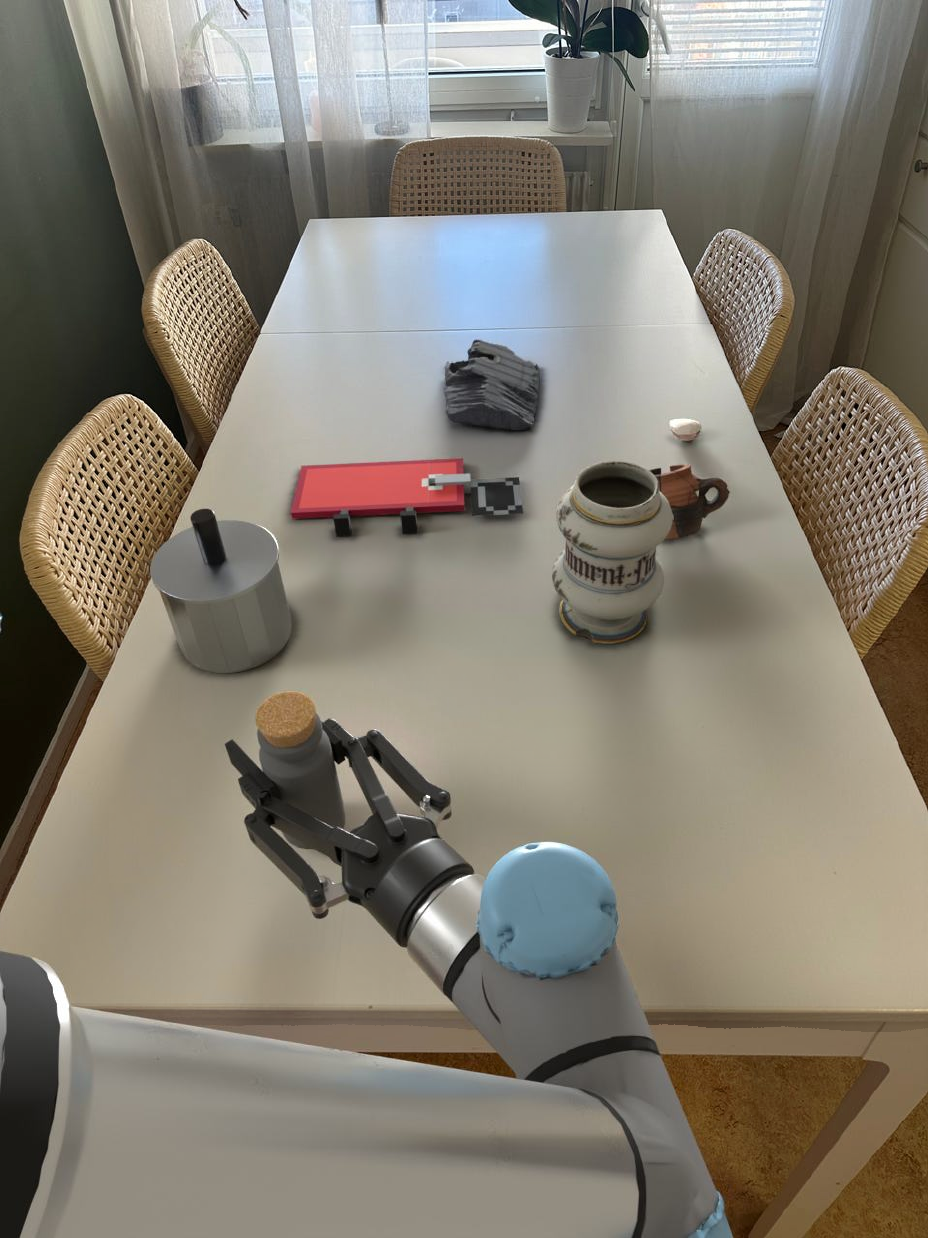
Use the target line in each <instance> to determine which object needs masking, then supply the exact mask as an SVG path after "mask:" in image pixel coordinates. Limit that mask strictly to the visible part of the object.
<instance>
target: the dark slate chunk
mask: <svg viewBox="0 0 928 1238" xmlns="http://www.w3.org/2000/svg"><path fill="white" fill-rule="evenodd" d="M444 382H445V388H444V397H445V401H446V409H445V414H446V416H447V418H448V420H449V421H450V422H451V423H452V424H457V425H458V424H459V425H460V424H461V425H464V424H465V425H469V426H479V427H481V426H482V427H483V426H484V427H485V426H486V427H489V428H494V429H504V430H509V431H510V430H511V431H523V430H530V429H532V428H533V427H534V424H535V417H536V411H537V409H538V407H537V406H538V400H539V398H538V395H539V387H540V384H539V382H540V368H539V365H538V364H537V363H533V362H532V361H531V360H525V359H524V358H522V357H520V356H519V355H517V354H516V353H515V351H514V350H512V349H511V348H509V347H508V346H506V345H503V344H499V343H493V342H488V341H485V340H482V339H474V340H473V342H472V343H471V346H470V347H469V348H468V349H467V360H464V359H463V360H460V361H459V360H455V361H454V360H453V361H452V360H451V361H447V362H445V366H444Z"/></svg>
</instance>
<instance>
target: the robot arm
mask: <svg viewBox="0 0 928 1238" xmlns="http://www.w3.org/2000/svg"><path fill="white" fill-rule="evenodd" d="M2 619H3V615H2V613H1V612H0V624H1V623H2ZM1 631H2V627H1V625H0V632H1ZM321 723H322V729H323V730H324V731H325V733H326V734H327V736H328V738H329V741H330V744H331V748H332V752H333V757H334V761H335V764H337V765H338V766H339V765H340V764H342V763H343V762H345V761H346V759H347V762H348V767H349V768H351V771H352V772H353V775H354V777H355V779H356V781H357V783H358V785H359V787H360V790H361V792H362V793H363V796H364V798H365V800H366V802H367V804H368V806H369V808H370V811H371V812H372V815H370V816H369V817H368V818H367V819H366V821H364V823H363V824H362V825H360V826H357V827H356V828H353V829H352V830H350V831H348V830H345V829H344V828H343V829H341V828H339V827H335V828H333V827H331V826H329V825H327V824H325V823H324V822H322V821H320V820H318V819H316V818H314V817H312V816H310V815H308V814H306V813H304V812H303V811H301V810H299V809H297V808H295V807H293V806H291V805H289V804H287V803H285V802H283V801H281V800H280V799H279V795H278V792H277V789H276V785H275V784H274V783H273V782H272V781H271V780H270V779H269V778H268V777H267V776H266V774H265V773H264V772H263V770H262V768H260V767H259V766H258V765H257V764H256V763H255V761H253V759H252V758H251V757H250V756H249V755H248V754H247V753H246V752H245V751H244V750H243V749H242V748H241V746H240V745H238V743H237V742H236V741H235V740H234V739H233V738H231V739H230V740H228V741H227V742H225V743H224V746H225V749H226V750H225V751H226V753H227V756H228V758H229V761H230V764H231V765H232V766H233V768H235V769H236V771H237V772H238V773H239V774H240V775H241V776H240V777H239V778H237V781H238V785H239V788H240V791H241V794H242V795H243V797H244V798H245V799H246V800H247V801H248V802H249V804H251V805H252V807H253V808H254V810H253V812H250V813H249V814H247V815H246V816H245V817H244V819H243V823H244V826H245V829H246V832H247V834H248V837H249V840H250V842H251V843H252V844H253V845H254V846H255V847H256V848H257V849H258V850H259V851H260V852H261V853H262V854H263V855H264V856H265V857H266V858H267V859H268V860H269V861H270V862H271V863H272V864H273V865H274V866H275V867H276V868H277V869H278V870H279V871H280V872H281V873H282V874H283V876H285V877H286V878H287V879H288V880H289V882H291V883H292V884H293V885H294V886H295V887H296V888H297V889H298V890H299V891H300V892H301V893H302V894H303V895H304V896H305V898H306V900H307V903H308V906H309V908H310V910H311V914H312V916H313V917H314V918H315V919H318V920H322V919H325V918H326V917H327V916H328V915H329V911H330V908H332V907H335V906H337V905H339V904H341V903H344V902H346V901H349V902H350V903H352V904H356V905H359V906H360V907H363V908H364V909H365V910H366V911H367V912H368V913H369V915H371V916H372V917H373V919H374V920H375V921H376V922H377V923H378V924H379V925H380V926H381V927H382V929H383V930H384V931H385V932H386V933H387V934H388V935H389V936H390V937H391V939H392V940H394V942H395V943H396V944H397V945H398V946H399V947H401V948H403V949H404V948H406V950H407V956H408V957H409V958H410V959H411V960H412V961H413V962H414V963H415V964H416V965H417V967H418V968H419V969H420V970H421V971H422V972H423V974H425V975H426V977H427V978H428V980H430V981H431V982H432V984H433V985H434V986H435V987H436V988H437V989H438V990H439V991H440V992H441V994H442V995H444V996H445V997H447V999H448V1001H450V1002H451V1003H452V1004H453V1005H454V1006H455V1008H456V1009H457V1010H458V1011H459V1012H460V1013H461V1014H462V1015H463V1017H464V1018H465V1019H466V1020H467V1021H468V1022H469V1023H470V1024H471V1025H472V1026H473V1027H474V1029H475V1030H476V1031H477V1032H478V1033H479V1035H481V1037H482V1038H483V1039H484V1040H485V1041H486V1042H487V1043H488V1044H489V1046H490V1047H491V1048H492V1049H493V1050H494V1051H495V1053H497V1055H498V1056H499V1057H500V1058H501V1059H502V1060H503V1062H505V1063H506V1064H507V1065H508V1067H509V1068H510V1069H511V1070H512V1071H513V1072H514V1074H515V1078H514V1077H508V1076H502V1075H497V1074H496V1075H495V1074H489V1073H485V1072H484V1073H483V1072H478V1071H472V1070H466V1069H460V1068H454V1067H447V1066H441V1065H436V1064H435V1065H434V1064H429V1063H422V1062H416V1061H410V1060H403V1059H399V1058H391V1057H385V1056H380V1055H373V1054H368V1053H361V1052H354V1051H350V1050H349V1051H348V1050H343V1049H337V1048H336V1049H335V1048H331V1047H324V1046H318V1045H311V1044H307V1043H301V1042H300V1043H299V1042H294V1041H289V1040H288V1041H287V1040H282V1039H275V1038H270V1037H269V1038H268V1037H263V1036H257V1035H250V1034H245V1033H238V1032H232V1031H225V1030H221V1029H220V1030H219V1029H213V1028H209V1027H201V1026H195V1025H190V1024H183V1023H178V1022H170V1021H164V1020H159V1019H152V1018H148V1017H147V1018H146V1017H141V1016H135V1015H134V1016H133V1015H128V1014H123V1013H122V1014H121V1013H116V1012H110V1011H103V1010H97V1009H91V1008H87V1007H86V1008H85V1007H79V1006H74V1005H72V1003H71V1000H70V999H69V996H68V994H67V992H66V989H65V987H64V985H63V983H62V982H61V980H60V978H59V976H58V974H57V973H56V971H55V970H54V969H53V968H52V967H51V966H50V965H49V964H48V963H47V962H45V961H44V960H41V959H39V958H37V957H34V956H33V957H32V956H28V955H24V954H18V953H13V952H7V951H2V950H0V1238H734V1237H733V1234H732V1230H731V1227H730V1224H729V1221H728V1219H727V1215H726V1213H725V1201H724V1199H723V1196H722V1195H721V1193H720V1192H719V1191H718V1190H717V1189H716V1186H715V1184H714V1182H713V1179H712V1177H711V1176H712V1175H711V1174H710V1172H709V1169H708V1167H707V1164H706V1161H705V1160H704V1157H703V1155H702V1152H701V1150H700V1148H699V1146H698V1143H697V1140H696V1138H695V1135H694V1133H693V1131H692V1128H691V1126H690V1123H689V1121H688V1118H687V1116H686V1114H685V1112H684V1109H683V1106H682V1104H681V1102H680V1099H679V1097H678V1095H677V1092H676V1090H675V1087H674V1084H673V1082H672V1080H671V1078H670V1075H669V1073H668V1070H667V1068H666V1066H665V1063H664V1061H663V1058H662V1055H661V1053H660V1050H659V1047H658V1044H657V1042H656V1040H655V1037H654V1035H653V1032H652V1029H651V1027H650V1024H649V1021H648V1018H647V1016H646V1015H645V1012H644V1009H643V1006H642V1004H641V1001H640V999H639V996H638V994H637V991H636V989H635V987H634V984H633V982H632V979H631V977H630V973H629V971H628V969H627V966H626V964H625V961H624V958H623V956H622V953H621V951H620V949H619V946H618V943H617V940H616V936H617V933H618V931H619V928H620V925H619V913H618V909H617V906H618V905H617V895H616V891H615V888H614V885H613V883H612V882H613V881H612V880H611V878H610V877H609V875H608V874H607V871H605V869H604V868H603V867H602V865H600V864H599V863H598V861H597V860H595V859H594V858H593V857H591V856H590V855H589V854H587V852H585V851H583V850H581V849H579V848H577V847H574V846H571V845H569V844H566V843H562V842H555V841H539V842H532V843H527V844H524V845H521V846H518V847H516V848H514V849H512V850H511V851H509V852H507V853H505V854H504V855H503V856H502V857H501V858H499V859H498V860H497V861H496V862H495V864H494V865H493V866H492V868H491V869H490V871H489V872H488V874H487V875H486V878H485V876H483V875H482V874H478V873H476V874H475V870H474V867H473V866H472V865H471V864H470V863H469V862H468V861H467V860H466V859H465V858H464V857H462V855H461V854H460V853H458V851H457V850H455V849H454V848H453V847H452V846H451V845H450V844H449V843H448V842H447V841H446V840H445V839H443V838H442V837H441V836H440V835H439V833H438V829H437V828H438V826H440V824H441V822H442V821H446V820H449V819H450V818H451V816H452V799H451V793H450V792H449V791H448V790H447V789H444V788H442V787H440V786H438V785H436V784H434V783H432V782H430V781H429V780H428V779H427V778H426V777H425V776H424V775H423V774H422V773H421V771H419V770H418V769H417V768H416V767H415V766H414V765H413V764H412V763H411V762H410V761H409V760H408V759H407V758H406V757H405V756H404V755H403V753H402V752H401V751H399V749H397V748H396V746H395V745H394V744H393V743H392V742H391V741H390V740H389V739H388V738H387V737H386V736H385V735H384V734H383V733H382V732H381V731H380V730H379V729H377V728H373V729H369V730H368V731H367V733H366V735H363V736H359V737H358V736H353V735H352V734H350V732H348V731H347V729H345V728H344V727H343V726H342V725H341V724H340V723H339V722H338V721H337V720H336V719H334V718H330V717H328V718H327V719H326V720H324V721H322V720H321ZM370 757H371V758H372V759H373V760H374V761H375V762H376V763H377V765H378V766H379V767H380V768H381V769H382V770H383V771H384V772H385V773H386V774H387V775H388V776H389V778H390V779H391V780H392V781H393V782H394V783H395V784H396V785H397V786H398V787H399V789H401V790H402V791H403V792H404V793H405V795H406V796H407V797H408V798H409V799H410V800H411V801H412V802H413V803H414V804H415V805H416V806H417V807H418V808H419V811H420V814H421V815H422V816H417V815H412V814H405V813H399V812H397V811H396V809H395V807H394V805H393V803H392V801H391V799H390V797H389V795H388V794H387V793H386V791H385V790H384V787H383V786H382V784H381V781H380V780H379V777H378V775H377V773H376V771H375V769H374V767H373V765H372V764H371V762H370V761H371V760H370V759H369V758H370ZM273 828H274V829H273ZM275 829H276V830H277V831H280V832H281V833H282V832H284V833H285V834H287V835H289V836H291V837H293V838H295V839H297V840H298V841H300V842H302V843H304V844H306V845H308V846H309V847H311V848H313V849H312V850H315V851H317V852H319V853H321V854H323V855H324V856H326V857H328V858H329V859H330V860H331V861H332V863H334V864H335V865H338V866H339V867H341V882H339V883H337V882H333V881H332V880H331V879H330V878H329V877H327V876H325V875H320V876H318V875H317V872H316V871H315V869H314V868H313V867H312V865H311V864H309V863H308V861H306V860H305V859H304V858H303V857H302V856H301V855H300V854H299V853H298V852H297V850H295V849H294V848H293V847H292V846H291V845H290V843H289V842H288V841H287V840H286V839H285V838H283V837H282V836H281V835H280V834H279V833H278V832H277V831H276V830H275Z"/></svg>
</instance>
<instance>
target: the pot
mask: <svg viewBox="0 0 928 1238" xmlns="http://www.w3.org/2000/svg"><path fill="white" fill-rule="evenodd" d="M159 594H160V597H161V599H162V603H163V605H164V608H165V611H166V613H167V617H168V619H169V622H170V625H171V627H172V630H173V633H174V635H175V638H176V642H177V644H178V646H179V649H180V650H181V652H182V654H183V656H184V657H185V659H186V660H187V661H188V662H189V663H190V664H191V665H193V666H195V667H197V668H198V669H200V670H204V671H206V672H210V673H215V674H216V673H217V674H234V673H240V672H241V673H242V672H244V671H245V672H246V671H248V670H252V669H254V668H257V667H259V666H261V665H263V664H266V663H267V662H268V661H270V660H271V659H273V658H275V657H276V656H277V655H278V654H279V653H280V652H281V651H282V650H283V649H284V648H285V646H286V645H287V644H288V642H289V640H290V638H291V634H292V630H293V629H292V628H293V622H292V619H291V612H290V608H289V603H288V600H287V595H286V591H285V587H284V582H283V578H282V573H281V569H280V564H279V562H278V563H277V565H276V567H275V569H274V571H273V572H272V573H271V575H270V576H269V577H268V578H267V579H266V580H265V581H264V582H263V583H261V584H260V585H259V586H257V587H256V588H254V589H253V590H251V591H249V592H247V593H245V594H243V595H241V596H238V597H236V598H233V599H230V600H226V601H222V602H216V603H208V604H192V603H185V602H180V601H177V600H174V599H171V598H169V597H167V596H165V595H164V594H162V593H161V592H160V591H159Z"/></svg>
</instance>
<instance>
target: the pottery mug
mask: <svg viewBox="0 0 928 1238" xmlns="http://www.w3.org/2000/svg"><path fill="white" fill-rule="evenodd" d="M648 470H649V471H650V472H652V473H653V474H654V475H655V476H656V478H657V480H658V482H659V488H660V492H661V493H662V494H663V495H664V496H665V497H666V499H667V500H668V502H669V504H670V507H671V510H672V515H673V522H672V526H671V529H670V532H669V534H668V535H667V537H666V538H665V539H664V540H663V541H665V540H666V541H667V540H668V541H669V540H674V539H678V538H683V537H689V536H692V535H695V534H697V533H698V532H700V531H701V528H702V527H701V526H702V524H703V523H702V522H703V519H706V517H707V516H709V514H712V513H714V512H716V511H717V510H719V509H721V508H722V507H723V506H724V505H725V503H726V502H727V501H728V499H729V496H730V493H731V492H730V490H729V488H728V484H727V482H726V481H725V480H724V479H722V478H720V477H719V476H718V477H717V476H711V477H700V476H696V475H695V474H693V472H692V465H691V464H689V463H688V464H685V463H683V464H675V465H670V466H669V471H668V472H663V473H662V467H655V468H653V469H648ZM712 489H716V495H715V496H714V497H713V498H712V499H711V500H709V499H707V497H706V495H707V493H708V492H709V491H710V490H712ZM697 492H698V494H697Z"/></svg>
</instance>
